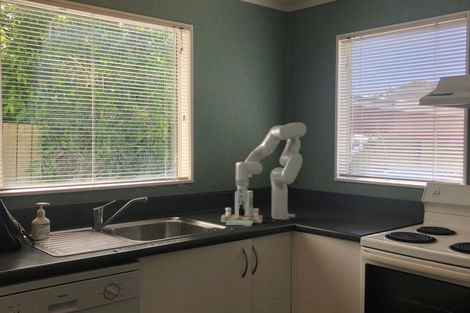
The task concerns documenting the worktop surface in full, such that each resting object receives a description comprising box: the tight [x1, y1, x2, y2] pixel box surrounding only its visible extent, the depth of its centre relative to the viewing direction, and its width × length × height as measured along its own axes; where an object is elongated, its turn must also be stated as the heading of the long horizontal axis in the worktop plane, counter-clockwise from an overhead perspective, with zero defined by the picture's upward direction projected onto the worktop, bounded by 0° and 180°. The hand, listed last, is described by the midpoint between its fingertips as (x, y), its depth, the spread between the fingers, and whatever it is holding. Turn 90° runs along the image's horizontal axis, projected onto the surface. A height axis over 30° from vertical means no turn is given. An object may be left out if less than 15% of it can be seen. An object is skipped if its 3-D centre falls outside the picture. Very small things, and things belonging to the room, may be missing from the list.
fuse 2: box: [253, 207, 260, 217], centre depth 273 cm, size 3×3×8 cm
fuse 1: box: [225, 207, 232, 216], centre depth 276 cm, size 3×3×8 cm
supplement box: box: [234, 190, 254, 215], centre depth 292 cm, size 10×9×17 cm
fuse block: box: [220, 214, 264, 224], centre depth 275 cm, size 23×8×4 cm, turn 82°
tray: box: [225, 220, 254, 227], centre depth 265 cm, size 14×9×2 cm, turn 82°
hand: (241, 214), depth 275 cm, fingers open, 3 cm apart
